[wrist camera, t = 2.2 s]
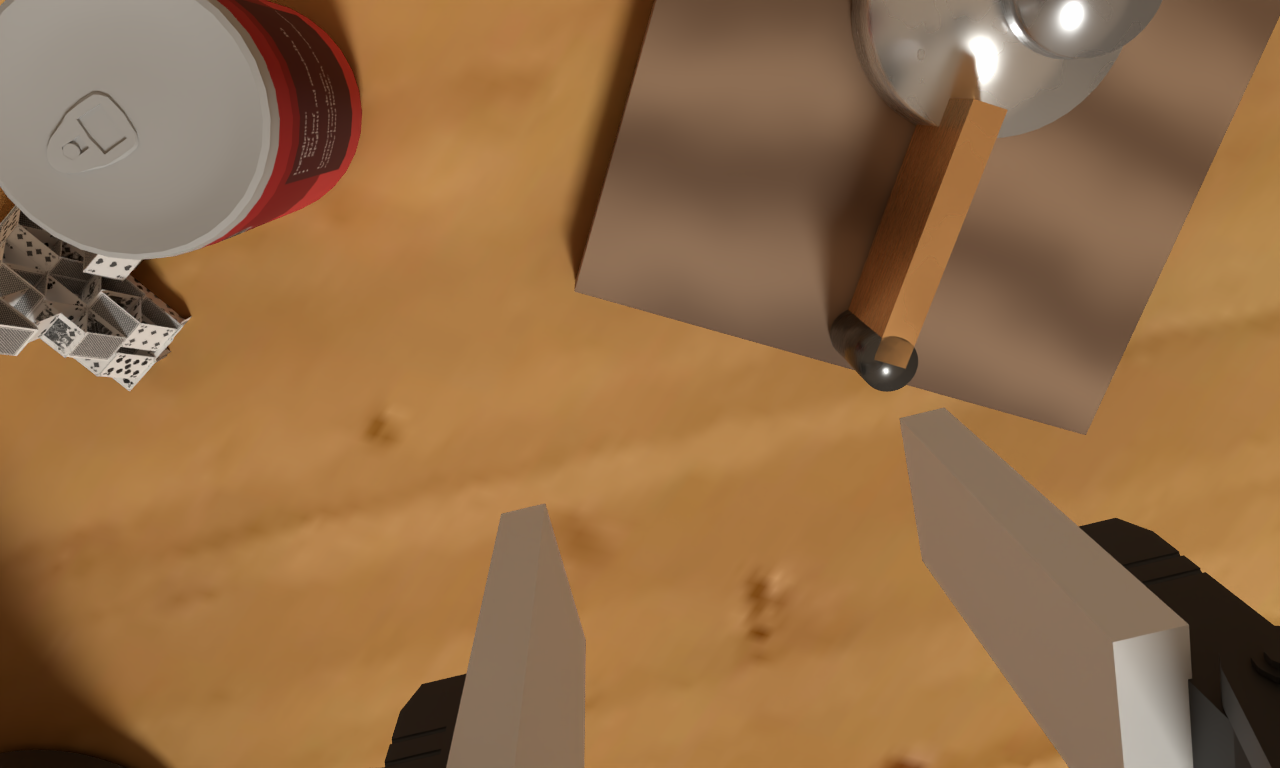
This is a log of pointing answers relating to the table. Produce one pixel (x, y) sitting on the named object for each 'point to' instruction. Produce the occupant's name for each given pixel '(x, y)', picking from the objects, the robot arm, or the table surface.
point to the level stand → (864, 178)
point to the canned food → (168, 119)
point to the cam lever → (959, 135)
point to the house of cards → (79, 304)
